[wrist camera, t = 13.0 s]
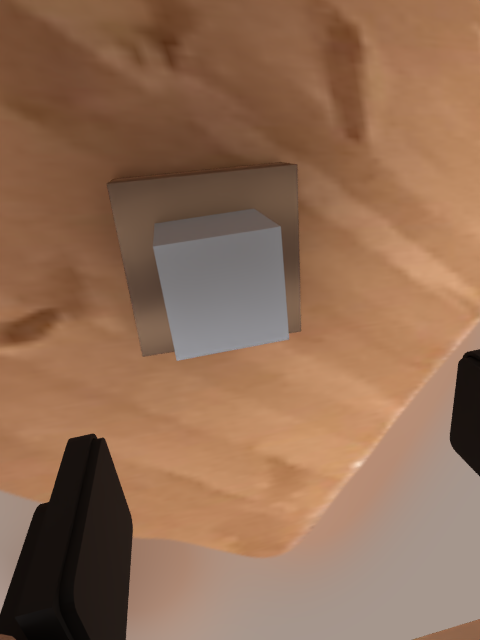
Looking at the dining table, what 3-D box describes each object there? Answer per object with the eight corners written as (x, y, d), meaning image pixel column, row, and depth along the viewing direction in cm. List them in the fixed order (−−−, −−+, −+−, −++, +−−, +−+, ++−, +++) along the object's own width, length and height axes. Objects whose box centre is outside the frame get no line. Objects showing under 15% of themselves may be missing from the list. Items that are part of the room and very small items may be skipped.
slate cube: (154, 223, 24) (152, 246, 18) (254, 208, 24) (280, 226, 19) (173, 316, 26) (176, 360, 21) (263, 300, 27) (289, 339, 22)
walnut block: (114, 178, 26) (106, 183, 22) (279, 161, 28) (297, 164, 24) (144, 331, 31) (142, 356, 27) (285, 310, 32) (301, 331, 28)
